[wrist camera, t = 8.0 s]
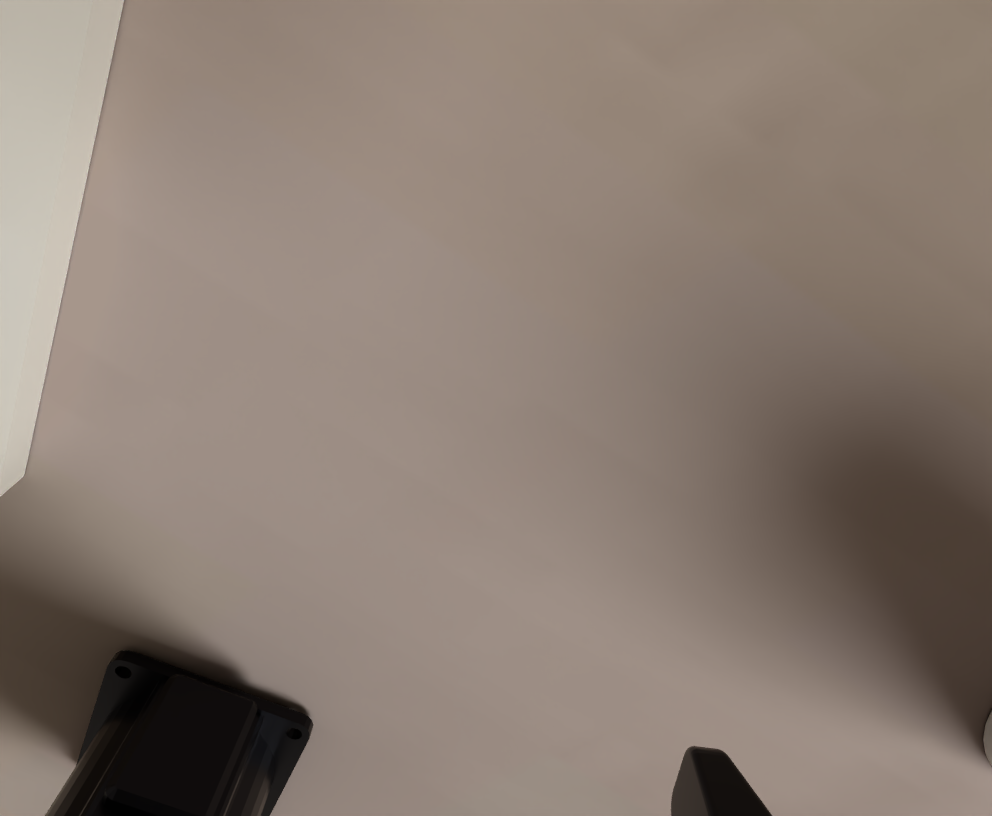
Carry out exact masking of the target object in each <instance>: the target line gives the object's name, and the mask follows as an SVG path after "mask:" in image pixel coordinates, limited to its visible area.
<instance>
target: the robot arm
mask: <svg viewBox="0 0 992 816" xmlns="http://www.w3.org/2000/svg"><path fill="white" fill-rule="evenodd" d="M295 728H296V729H295ZM312 728H313V723H312V720H311V719H310V718H309V717H308V716H306V715H305V714H303V713H300V712H297V711H294V710H292V709H289V708H286V707H283V706H281V705H278V704H275V703H272V702H270V701H267V700H264V699H262V698H259V697H256V696H253V695H251V694H248V693H245V692H242V691H240V690H237V689H234V688H231V687H229V686H226V685H223V684H220V683H218V682H215V681H212V680H209V679H207V678H204V677H201V676H198V675H196V674H193V673H190V672H187V671H185V670H182V669H179V668H176V667H174V666H171V665H168V664H165V663H163V662H160V661H157V660H154V659H152V658H149V657H146V656H143V655H141V654H138V653H135V652H132V651H127V650H126V651H120V652H118V653H116V655H115V656H114V658H113V659H112V661H111V662H110V663H109V665H108V666H107V669H106V673H105V676H104V679H103V682H102V685H101V689H100V692H99V695H98V698H97V701H96V704H95V708H94V711H93V714H92V717H91V720H90V724H89V727H88V730H87V733H86V736H85V740H84V743H83V746H82V749H81V752H80V756H79V759H78V762H77V765H76V767H75V769H74V770H73V772H72V774H71V775H70V777H69V778H68V780H67V782H66V783H65V785H64V786H63V788H62V789H61V791H60V793H59V794H58V796H57V797H56V799H55V801H54V802H53V804H52V805H51V807H50V808H49V810H48V812H47V813H46V815H45V816H270V814H271V812H272V810H273V808H274V806H275V804H276V802H277V800H278V798H279V797H280V795H281V793H282V791H283V789H284V787H285V785H286V783H287V781H288V779H289V777H290V775H291V773H292V771H293V769H294V767H295V765H296V763H297V761H298V760H299V758H300V756H301V754H302V752H303V750H304V748H305V746H306V744H307V742H308V740H309V738H310V734H311V731H312ZM671 816H772V815H771V813H770V812H769V811H768V809H767V808H766V807H765V805H764V804H763V802H762V801H761V800H760V798H759V797H758V796H757V794H756V793H755V792H754V790H753V789H752V788H751V786H750V785H749V783H748V782H747V781H746V779H745V778H744V777H743V775H742V774H741V773H740V771H739V770H738V769H737V767H736V766H735V765H734V763H733V762H732V760H731V759H730V758H729V756H728V755H727V754H726V753H725V752H723V751H722V750H719V749H714V748H705V747H697V746H692V747H689V748H688V749H687V750H686V752H685V754H684V757H683V761H682V764H681V767H680V770H679V773H678V776H677V780H676V783H675V786H674V789H673V793H672V801H671Z"/></svg>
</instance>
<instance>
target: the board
mask: <svg viewBox="0 0 992 816" xmlns="http://www.w3.org/2000/svg"><path fill="white" fill-rule="evenodd" d="M123 3H124V0H0V496H2V495H3V494H4V493H5V492H6V491H7V490H9V489H10V488H11V487H12V486H13V485H14V484H15V483H17V482H18V481H19V480H20V479H21V478H22V477H24V475H25V470H26V465H27V461H28V456H29V451H30V446H31V441H32V437H33V432H34V427H35V422H36V418H37V413H38V408H39V403H40V399H41V394H42V389H43V384H44V380H45V375H46V370H47V365H48V361H49V356H50V351H51V346H52V342H53V337H54V332H55V327H56V322H57V318H58V313H59V308H60V303H61V299H62V294H63V289H64V284H65V280H66V275H67V270H68V265H69V261H70V256H71V251H72V246H73V242H74V237H75V232H76V227H77V222H78V218H79V213H80V208H81V203H82V199H83V194H84V189H85V184H86V180H87V175H88V170H89V165H90V161H91V156H92V151H93V146H94V142H95V137H96V132H97V127H98V123H99V118H100V113H101V108H102V103H103V99H104V94H105V89H106V84H107V80H108V75H109V70H110V65H111V61H112V56H113V51H114V46H115V42H116V37H117V32H118V27H119V23H120V18H121V13H122V8H123Z"/></svg>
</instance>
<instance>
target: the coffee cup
mask: <svg viewBox="0 0 992 816" xmlns="http://www.w3.org/2000/svg"><path fill="white" fill-rule="evenodd" d="M983 741H984V748H985V753H986V756H987V758H988V760H989V762H990V764H991V766H992V711H991V713H990V715H989V718H988V720H987V722H986V725H985V731H984V738H983Z"/></svg>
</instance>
